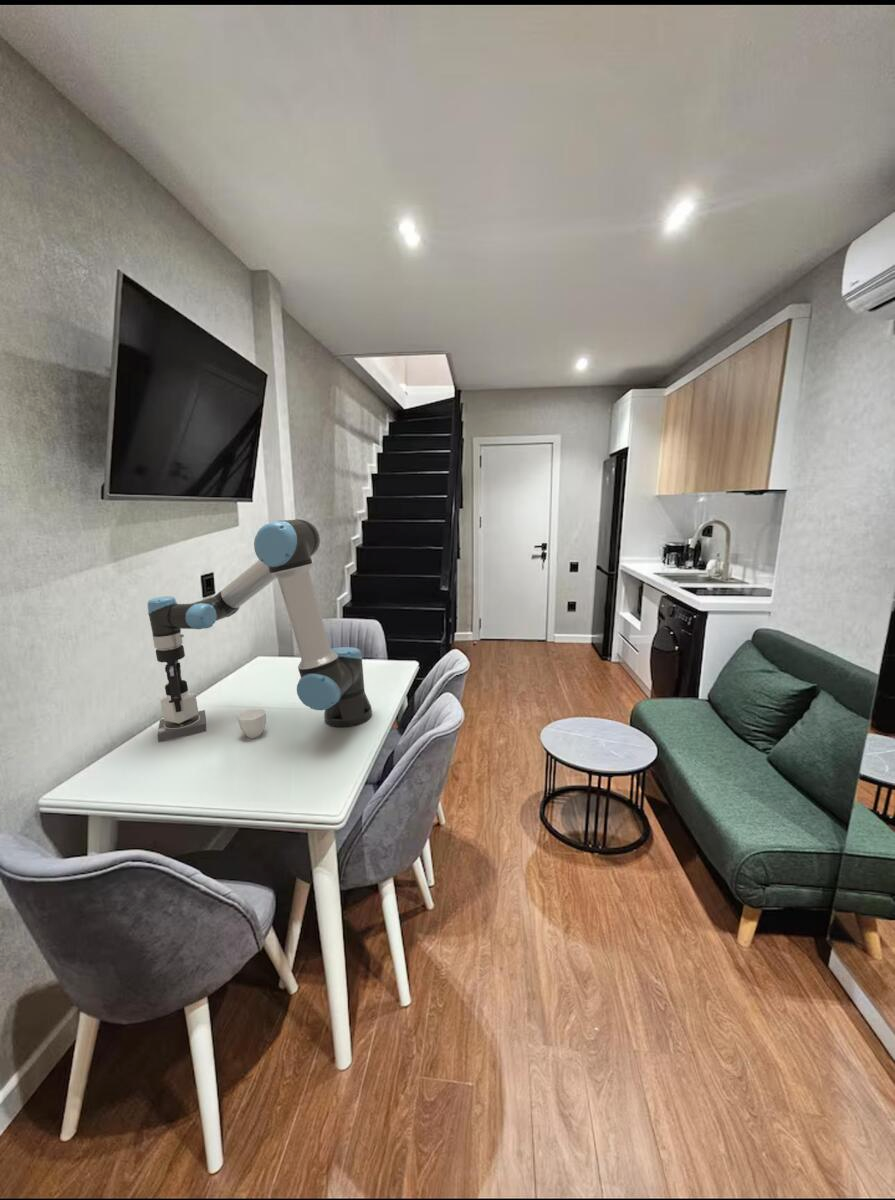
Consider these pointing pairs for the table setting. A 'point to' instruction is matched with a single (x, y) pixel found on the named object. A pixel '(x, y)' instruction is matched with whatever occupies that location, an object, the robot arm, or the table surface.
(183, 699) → the medicine bottle
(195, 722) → the grey square dish
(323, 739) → the table surface
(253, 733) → the cup
